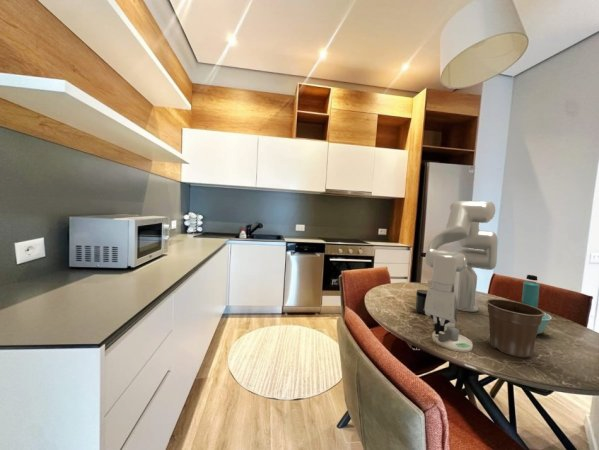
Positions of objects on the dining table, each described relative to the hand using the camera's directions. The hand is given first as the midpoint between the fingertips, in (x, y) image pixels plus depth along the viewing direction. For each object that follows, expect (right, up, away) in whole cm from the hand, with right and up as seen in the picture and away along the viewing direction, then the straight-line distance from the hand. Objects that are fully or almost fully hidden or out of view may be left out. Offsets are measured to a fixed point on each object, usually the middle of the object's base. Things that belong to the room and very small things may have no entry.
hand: (438, 333), depth 95 cm
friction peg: (+2, -1, -2) cm, 3 cm away
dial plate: (+5, -3, 0) cm, 6 cm away
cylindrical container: (+9, -3, +12) cm, 15 cm away
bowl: (+45, -5, +14) cm, 48 cm away
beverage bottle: (+65, -5, +34) cm, 74 cm away
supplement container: (+8, -2, +28) cm, 29 cm away
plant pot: (+25, -5, -3) cm, 25 cm away
